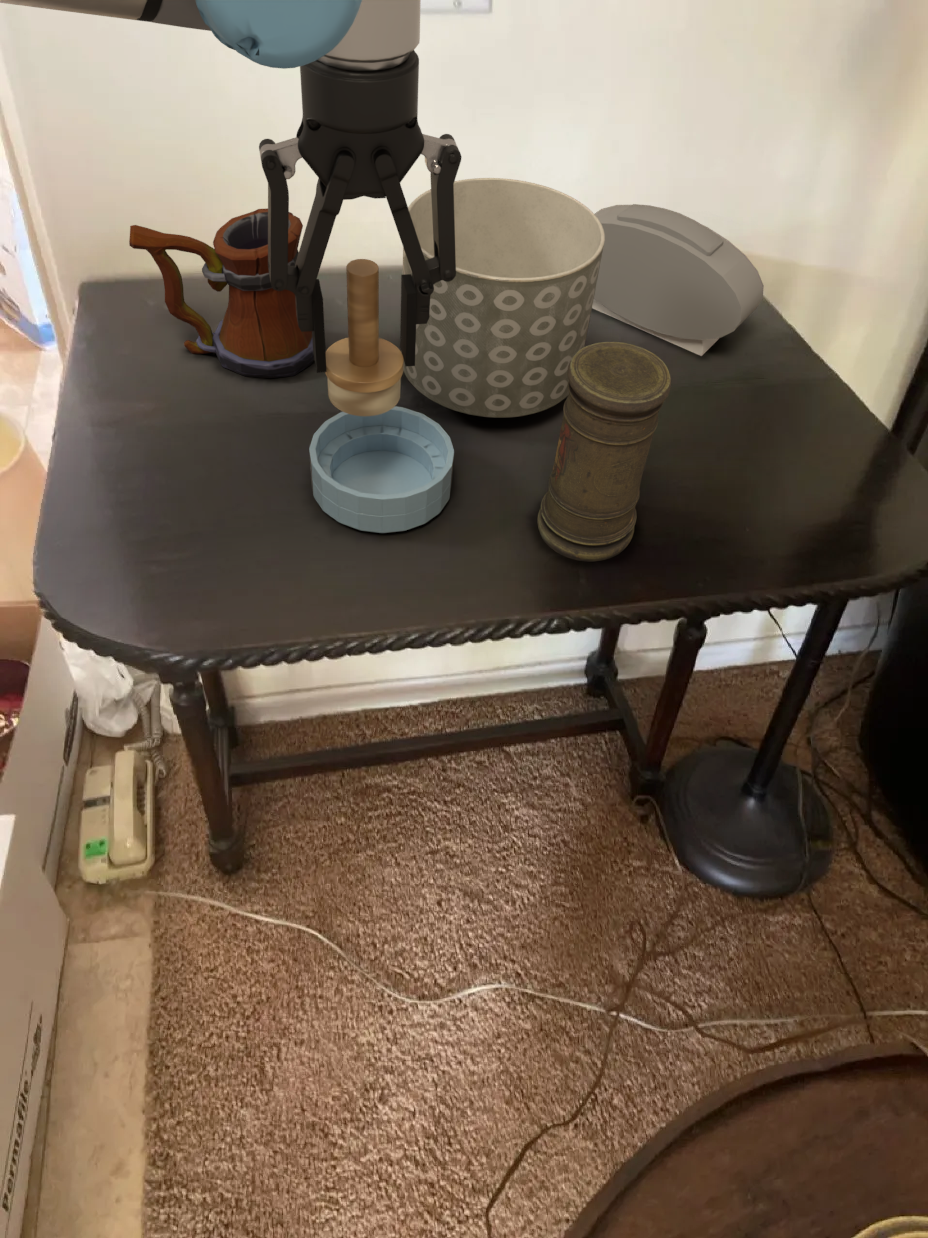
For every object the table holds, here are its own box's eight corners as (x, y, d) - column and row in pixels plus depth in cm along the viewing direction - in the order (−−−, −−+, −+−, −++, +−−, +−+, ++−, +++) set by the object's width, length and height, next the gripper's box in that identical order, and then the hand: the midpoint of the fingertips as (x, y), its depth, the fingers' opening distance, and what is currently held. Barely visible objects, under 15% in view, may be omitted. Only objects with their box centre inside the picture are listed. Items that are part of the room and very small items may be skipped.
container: (647, 522, 93) (694, 363, 79) (604, 578, 87) (647, 419, 74) (565, 484, 95) (597, 324, 82) (519, 536, 90) (545, 375, 76)
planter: (581, 347, 111) (610, 192, 97) (567, 453, 98) (599, 292, 84) (417, 323, 111) (423, 165, 98) (384, 425, 99) (385, 262, 85)
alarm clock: (747, 347, 113) (782, 244, 103) (724, 370, 110) (758, 267, 100) (578, 274, 121) (596, 172, 111) (552, 294, 117) (568, 191, 108)
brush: (330, 421, 78) (324, 292, 69) (321, 373, 82) (314, 246, 73) (408, 414, 79) (412, 288, 70) (396, 368, 83) (398, 242, 74)
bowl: (321, 545, 88) (318, 505, 84) (305, 451, 96) (302, 410, 92) (463, 531, 90) (467, 491, 86) (435, 440, 98) (438, 400, 94)
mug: (149, 386, 101) (120, 252, 89) (155, 323, 108) (129, 191, 96) (323, 381, 103) (317, 249, 92) (318, 320, 110) (311, 191, 99)
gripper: (495, 23, 65) (471, 325, 82) (198, 24, 61) (238, 340, 79) (523, 68, 60) (490, 378, 78) (202, 72, 56) (245, 396, 74)
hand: (364, 358), depth 78 cm, fingers closed on brush, 6 cm apart
